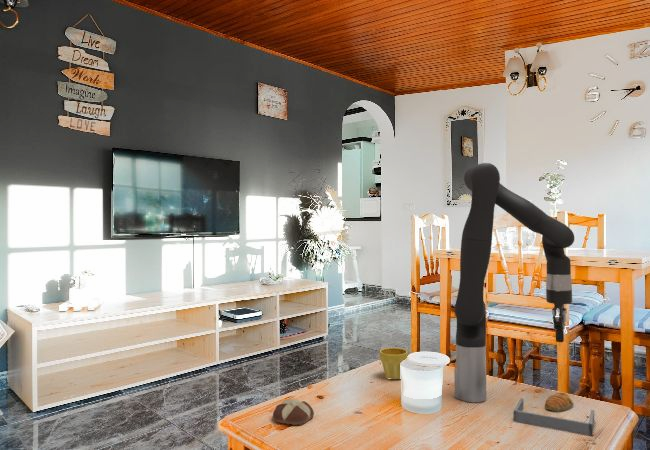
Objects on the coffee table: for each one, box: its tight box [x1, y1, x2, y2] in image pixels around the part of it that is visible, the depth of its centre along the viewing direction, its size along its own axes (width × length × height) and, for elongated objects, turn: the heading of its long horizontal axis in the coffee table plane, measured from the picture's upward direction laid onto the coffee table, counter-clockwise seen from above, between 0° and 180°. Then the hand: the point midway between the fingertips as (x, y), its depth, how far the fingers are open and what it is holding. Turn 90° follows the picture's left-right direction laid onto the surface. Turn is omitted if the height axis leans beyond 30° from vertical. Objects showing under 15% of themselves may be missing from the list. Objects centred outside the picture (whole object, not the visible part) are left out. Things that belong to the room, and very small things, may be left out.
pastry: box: [544, 392, 575, 412], centre depth 148 cm, size 9×7×4 cm
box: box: [512, 398, 595, 437], centre depth 138 cm, size 20×11×3 cm, turn 58°
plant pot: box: [379, 347, 409, 380], centre depth 178 cm, size 10×10×10 cm
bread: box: [272, 398, 315, 426], centre depth 143 cm, size 11×11×5 cm
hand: (559, 341), depth 157 cm, fingers closed
